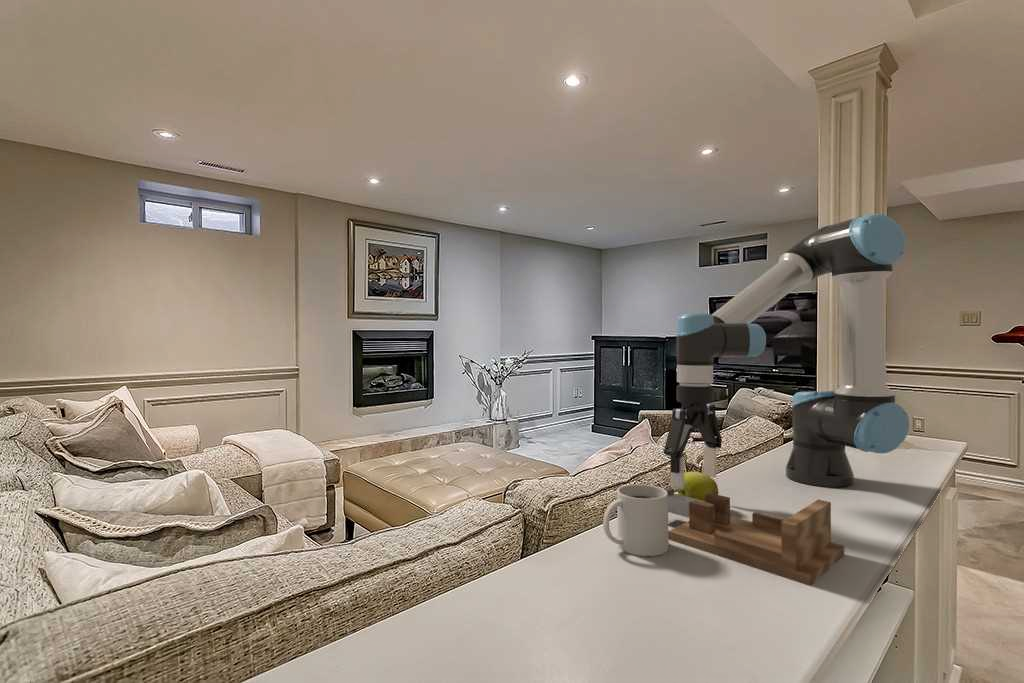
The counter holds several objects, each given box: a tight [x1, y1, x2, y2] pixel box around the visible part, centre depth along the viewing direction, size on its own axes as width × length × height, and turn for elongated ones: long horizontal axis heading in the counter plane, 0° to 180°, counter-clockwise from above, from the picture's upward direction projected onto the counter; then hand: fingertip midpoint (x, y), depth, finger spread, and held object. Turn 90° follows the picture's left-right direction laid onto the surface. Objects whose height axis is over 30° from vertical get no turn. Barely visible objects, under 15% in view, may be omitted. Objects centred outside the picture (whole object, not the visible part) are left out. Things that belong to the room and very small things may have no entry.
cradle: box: [668, 493, 845, 586], centre depth 91 cm, size 16×24×8 cm, turn 41°
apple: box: [674, 471, 719, 501], centre depth 111 cm, size 8×9×8 cm
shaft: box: [663, 487, 714, 519], centre depth 100 cm, size 4×10×4 cm, turn 41°
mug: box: [602, 483, 670, 557], centre depth 91 cm, size 11×10×10 cm
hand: (694, 481), depth 111 cm, fingers open, 13 cm apart
